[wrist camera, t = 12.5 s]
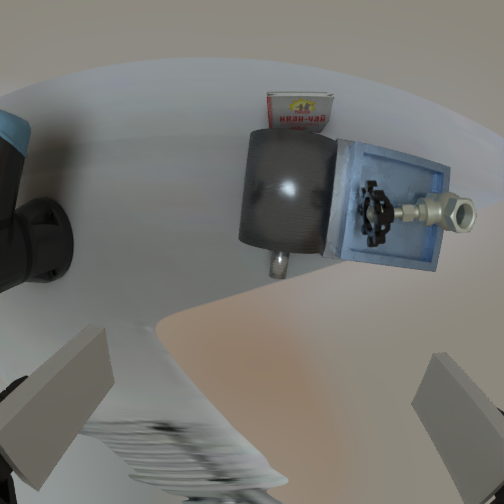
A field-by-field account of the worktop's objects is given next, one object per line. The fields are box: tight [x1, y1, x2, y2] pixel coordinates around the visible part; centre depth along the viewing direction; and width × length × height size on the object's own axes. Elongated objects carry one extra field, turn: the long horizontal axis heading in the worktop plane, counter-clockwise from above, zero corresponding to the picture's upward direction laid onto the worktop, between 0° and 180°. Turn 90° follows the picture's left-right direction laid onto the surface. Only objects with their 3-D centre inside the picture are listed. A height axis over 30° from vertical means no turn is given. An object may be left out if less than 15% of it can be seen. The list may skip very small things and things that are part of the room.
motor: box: [239, 129, 450, 279], centre depth 31 cm, size 26×17×10 cm, turn 84°
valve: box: [359, 180, 477, 247], centre depth 25 cm, size 7×7×12 cm
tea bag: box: [267, 92, 334, 132], centre depth 29 cm, size 4×7×10 cm, turn 92°
